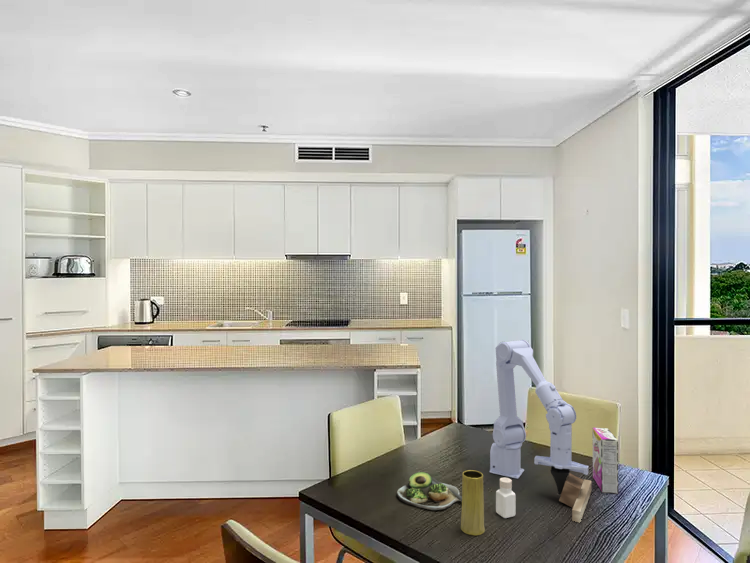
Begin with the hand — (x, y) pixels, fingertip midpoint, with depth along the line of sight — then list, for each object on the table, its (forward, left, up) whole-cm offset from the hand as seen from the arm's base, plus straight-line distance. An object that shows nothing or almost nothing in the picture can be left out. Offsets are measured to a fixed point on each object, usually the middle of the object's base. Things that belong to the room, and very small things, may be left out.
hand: (560, 493), depth 136 cm
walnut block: (+2, 0, -1) cm, 3 cm away
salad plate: (-34, -18, -2) cm, 39 cm away
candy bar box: (+10, +17, -2) cm, 20 cm away
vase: (-16, -29, -2) cm, 33 cm away
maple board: (+6, 0, -2) cm, 6 cm away
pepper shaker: (-11, -17, -2) cm, 20 cm away
